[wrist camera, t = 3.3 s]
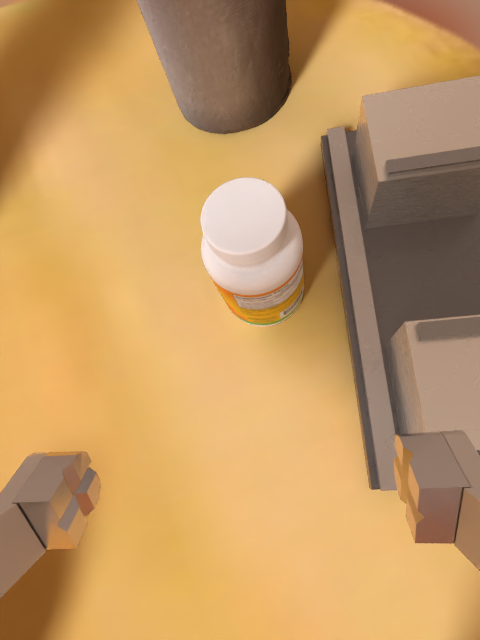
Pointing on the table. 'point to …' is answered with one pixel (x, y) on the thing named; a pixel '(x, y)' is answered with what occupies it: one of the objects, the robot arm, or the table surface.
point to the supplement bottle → (253, 251)
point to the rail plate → (410, 262)
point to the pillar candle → (222, 58)
